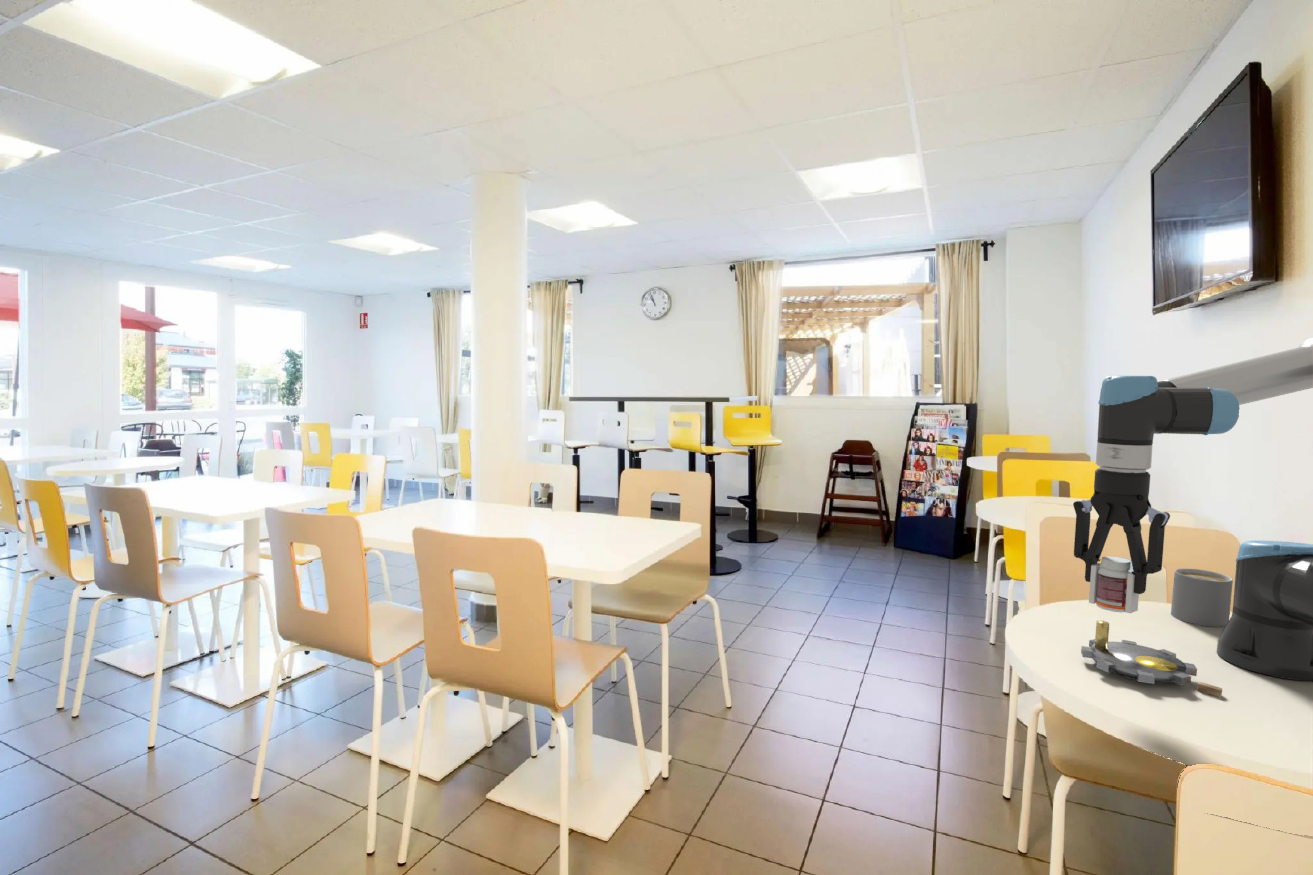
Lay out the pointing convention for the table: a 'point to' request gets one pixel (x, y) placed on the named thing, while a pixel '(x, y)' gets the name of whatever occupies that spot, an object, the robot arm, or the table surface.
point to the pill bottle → (1112, 584)
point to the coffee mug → (1201, 597)
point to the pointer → (1209, 689)
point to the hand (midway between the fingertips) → (1112, 606)
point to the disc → (1136, 659)
